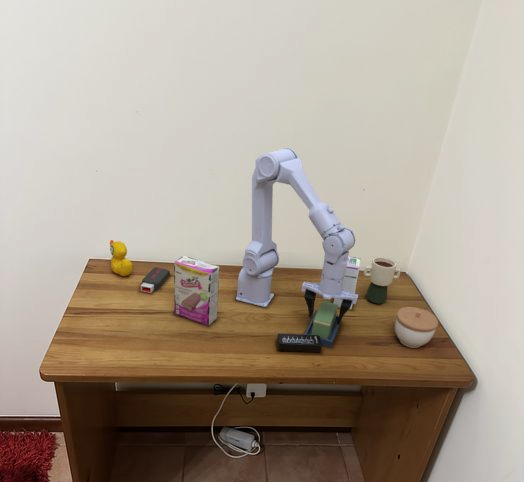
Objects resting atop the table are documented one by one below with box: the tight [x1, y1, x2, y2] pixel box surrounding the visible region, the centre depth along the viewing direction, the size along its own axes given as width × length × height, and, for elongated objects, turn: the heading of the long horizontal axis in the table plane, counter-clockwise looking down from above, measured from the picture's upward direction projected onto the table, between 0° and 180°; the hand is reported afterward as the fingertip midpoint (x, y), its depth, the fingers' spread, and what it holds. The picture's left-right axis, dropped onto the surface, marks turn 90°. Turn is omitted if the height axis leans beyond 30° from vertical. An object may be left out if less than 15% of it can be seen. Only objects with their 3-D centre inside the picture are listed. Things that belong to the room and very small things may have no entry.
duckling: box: [109, 239, 134, 277], centre depth 149 cm, size 11×5×10 cm, turn 39°
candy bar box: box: [173, 255, 220, 327], centre depth 130 cm, size 11×5×16 cm, turn 65°
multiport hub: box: [276, 333, 323, 353], centre depth 126 cm, size 4×11×2 cm, turn 92°
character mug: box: [362, 256, 402, 304], centre depth 147 cm, size 11×7×13 cm, turn 90°
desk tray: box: [303, 309, 343, 349], centre depth 133 cm, size 8×13×2 cm, turn 161°
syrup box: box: [332, 255, 361, 310], centre depth 143 cm, size 6×6×14 cm
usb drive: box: [139, 266, 171, 294], centre depth 147 cm, size 5×12×3 cm, turn 167°
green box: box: [311, 300, 339, 339], centre depth 132 cm, size 10×4×6 cm, turn 161°
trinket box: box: [394, 306, 439, 349], centre depth 131 cm, size 11×11×9 cm
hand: (324, 319), depth 132 cm, fingers open, 7 cm apart
